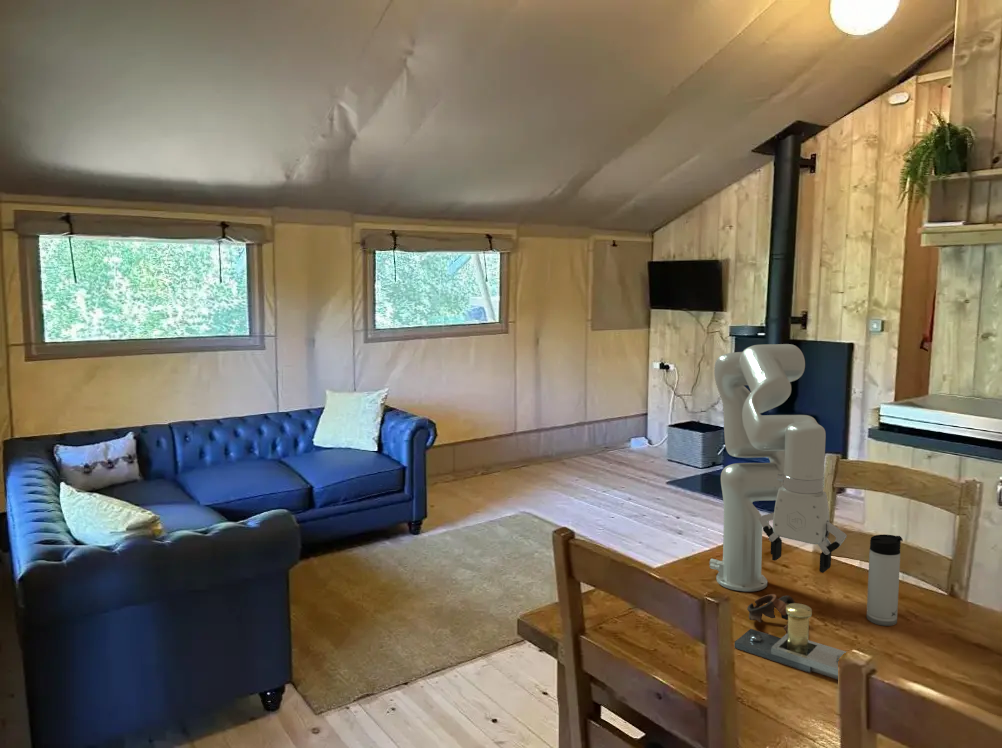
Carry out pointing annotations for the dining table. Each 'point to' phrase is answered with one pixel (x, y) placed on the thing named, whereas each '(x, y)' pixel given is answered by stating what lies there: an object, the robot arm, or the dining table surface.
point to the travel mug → (883, 579)
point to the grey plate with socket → (791, 653)
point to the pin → (798, 627)
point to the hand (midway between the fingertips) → (799, 564)
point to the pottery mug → (770, 607)
